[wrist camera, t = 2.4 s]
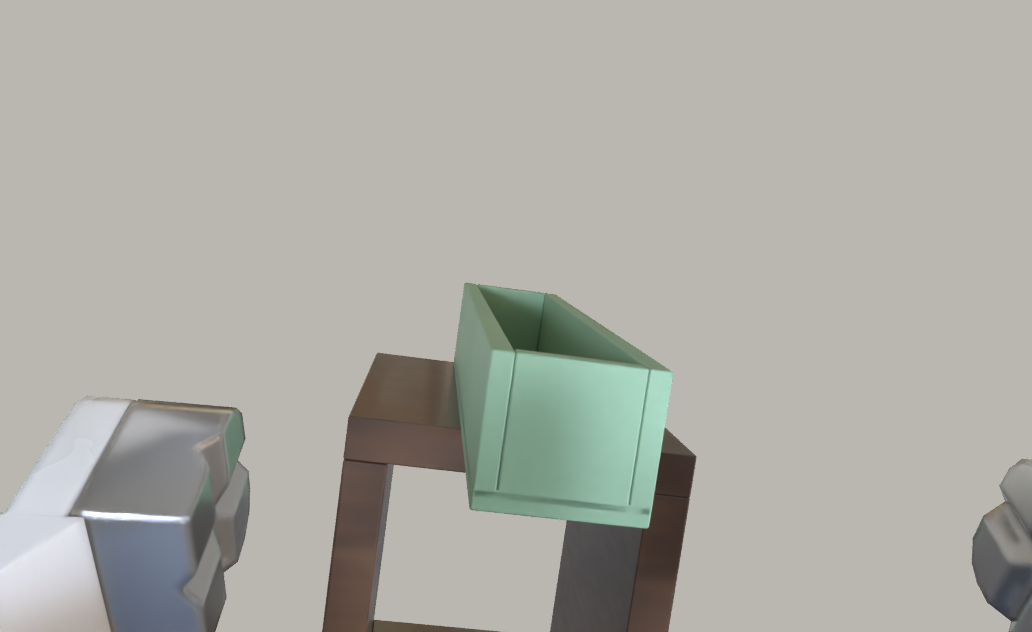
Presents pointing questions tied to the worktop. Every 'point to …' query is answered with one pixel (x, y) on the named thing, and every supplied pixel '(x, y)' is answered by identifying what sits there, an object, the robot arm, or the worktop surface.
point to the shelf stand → (438, 445)
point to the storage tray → (556, 411)
